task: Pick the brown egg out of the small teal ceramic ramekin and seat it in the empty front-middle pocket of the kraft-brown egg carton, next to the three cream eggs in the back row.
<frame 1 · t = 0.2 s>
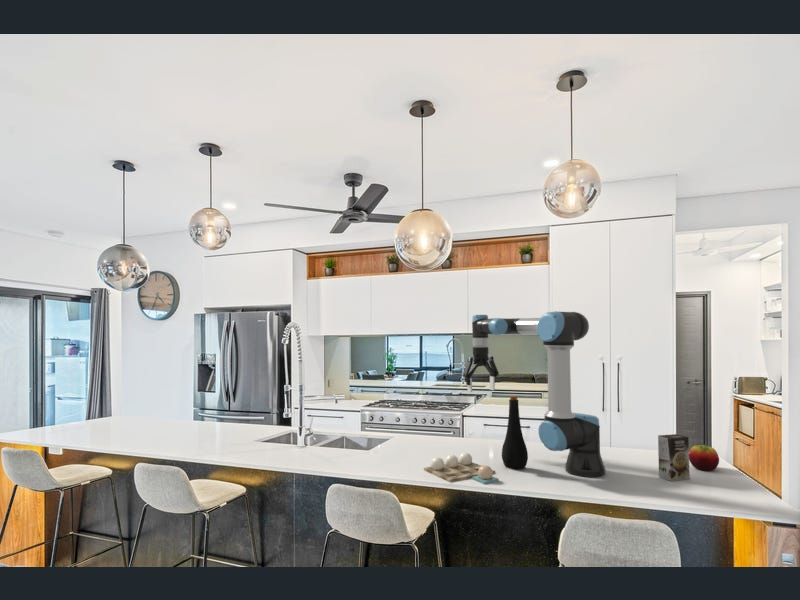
hand: (481, 391, 238), 28 cm above the counter, fingers open, 13 cm apart
cream egg c: (437, 471, 199), point 1 cm above the counter, touching carton
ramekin: (485, 483, 187), on the counter
brown egg: (485, 480, 187), point 1 cm above the counter, touching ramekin
cream egg b: (451, 468, 202), point 1 cm above the counter, touching carton
cream egg a: (465, 466, 206), point 1 cm above the counter, touching carton
bottle: (514, 469, 204), on the counter
coffee box: (674, 478, 192), on the counter
carton: (459, 474, 198), on the counter
fruit: (704, 469, 203), on the counter
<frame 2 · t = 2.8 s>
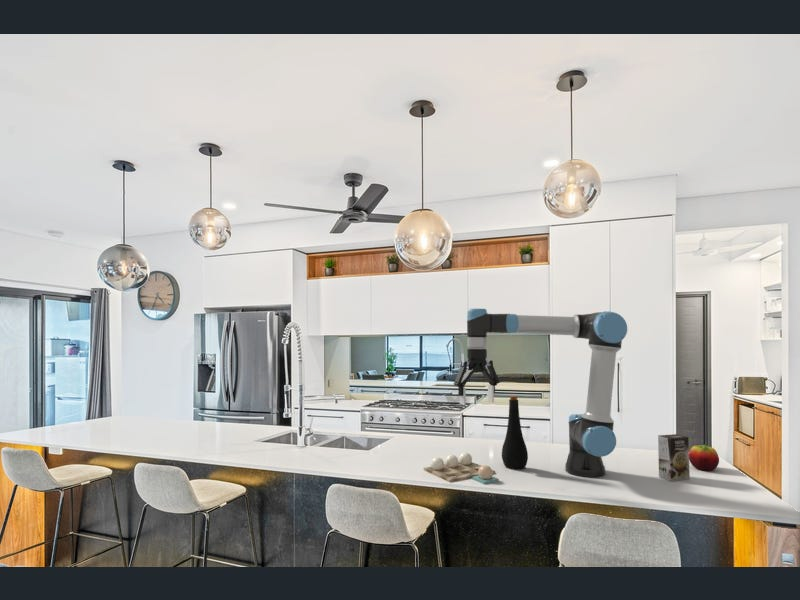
hand: (477, 403, 191), 29 cm above the counter, fingers open, 13 cm apart
nothing on the counter moved.
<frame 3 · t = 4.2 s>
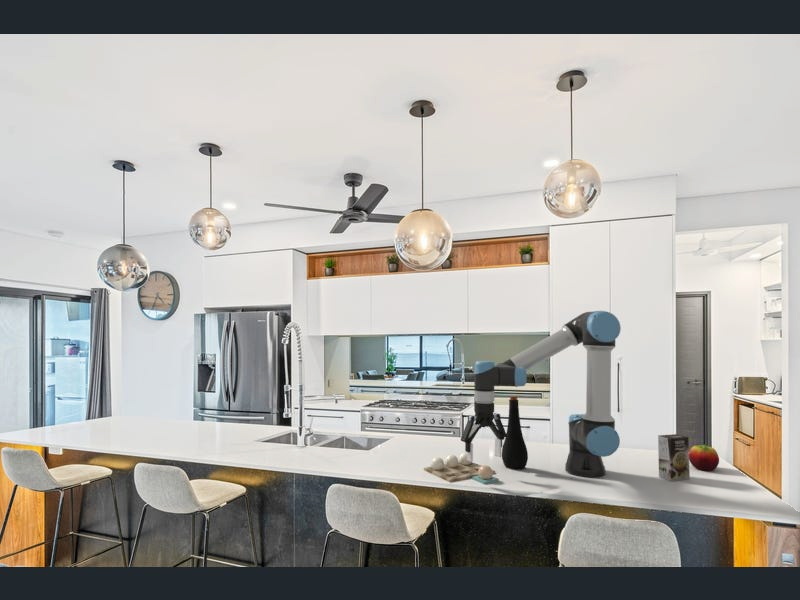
hand: (484, 458, 187), 9 cm above the counter, fingers open, 13 cm apart
nothing on the counter moved.
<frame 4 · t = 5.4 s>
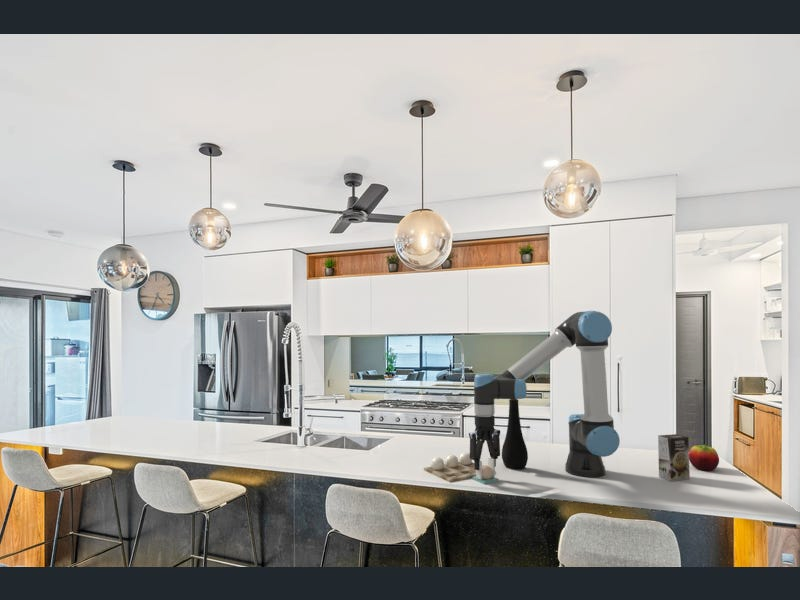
hand: (485, 477, 187), 2 cm above the counter, fingers closed on brown egg, 5 cm apart
brown egg: (485, 480, 187), point 1 cm above the counter, touching gripper, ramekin
everything else where it was.
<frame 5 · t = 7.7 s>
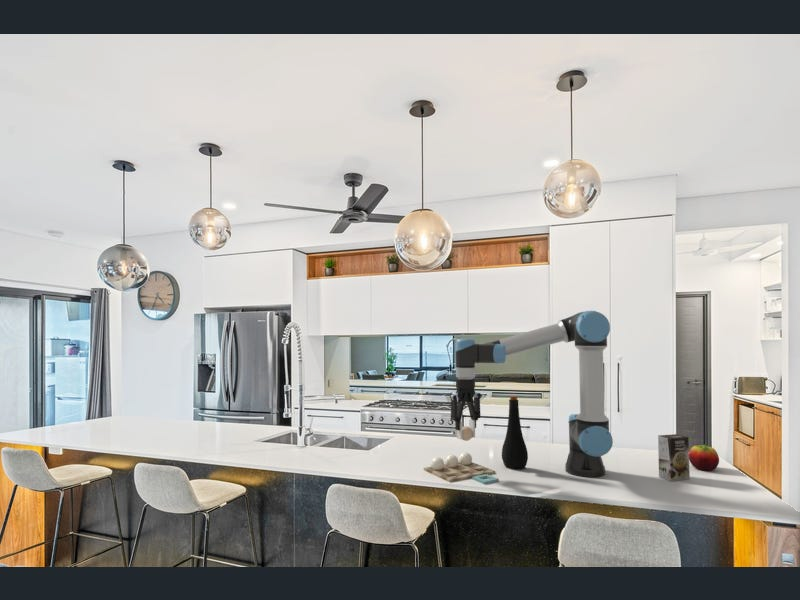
hand: (465, 437, 194), 16 cm above the counter, fingers closed on brown egg, 5 cm apart
brown egg: (466, 440, 194), point 14 cm above the counter, touching gripper
everything else where it was.
when the fingers open (4 cm above the counter, at t = 10.0 s): brown egg drops 1 cm, resting on carton.
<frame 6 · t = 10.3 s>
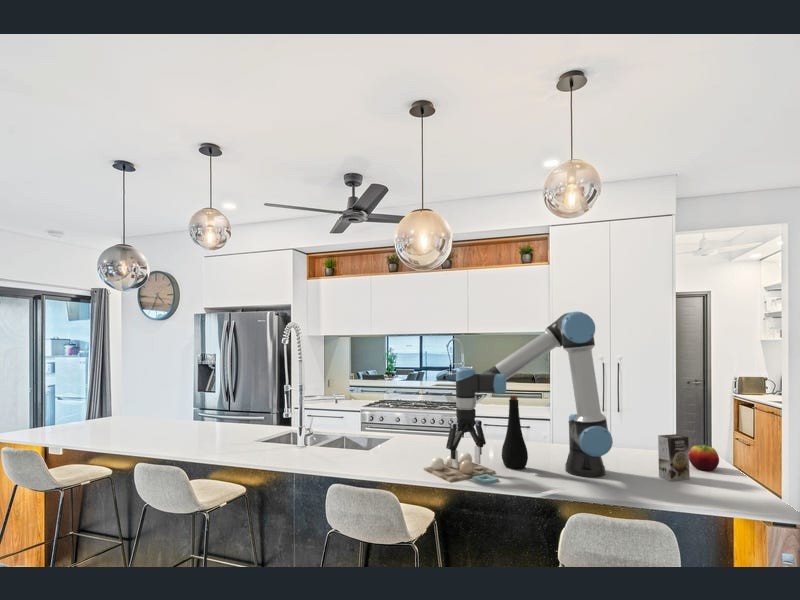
hand: (466, 465, 194), 5 cm above the counter, fingers open, 10 cm apart
brown egg: (466, 474, 194), point 1 cm above the counter, touching carton
everything else where it was.
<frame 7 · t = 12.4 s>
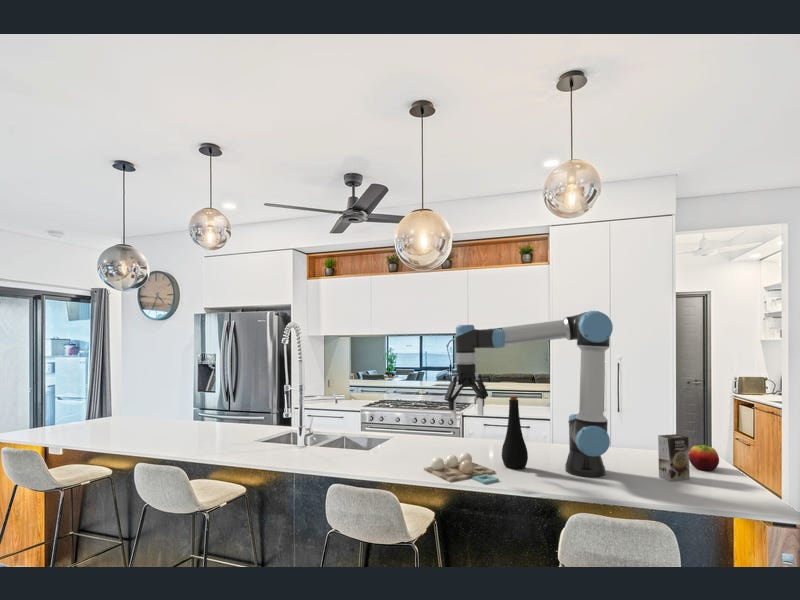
hand: (467, 416, 197), 23 cm above the counter, fingers open, 13 cm apart
nothing on the counter moved.
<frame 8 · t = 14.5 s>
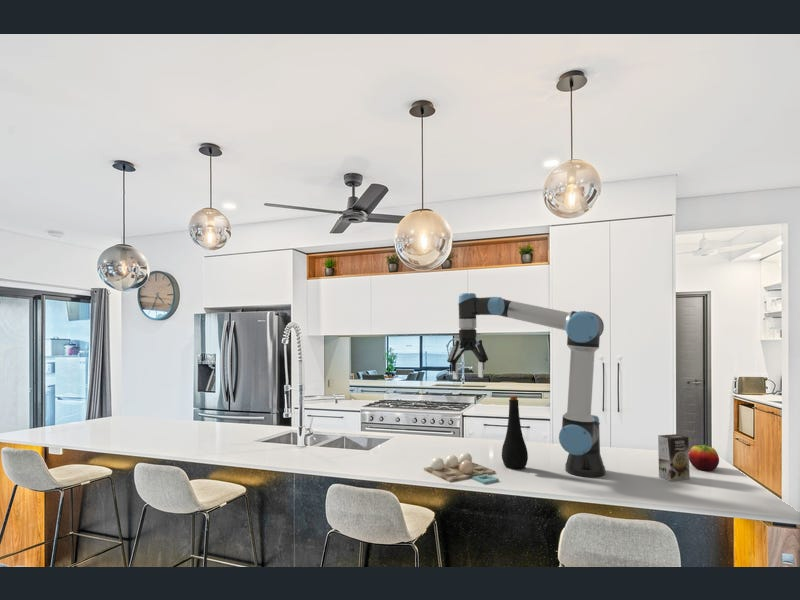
hand: (468, 378, 214), 37 cm above the counter, fingers open, 13 cm apart
nothing on the counter moved.
at the end: brown egg 0.0 cm from the target spot on the carton, point 1.1 cm above the carton's base; the gripper is holding nothing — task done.
